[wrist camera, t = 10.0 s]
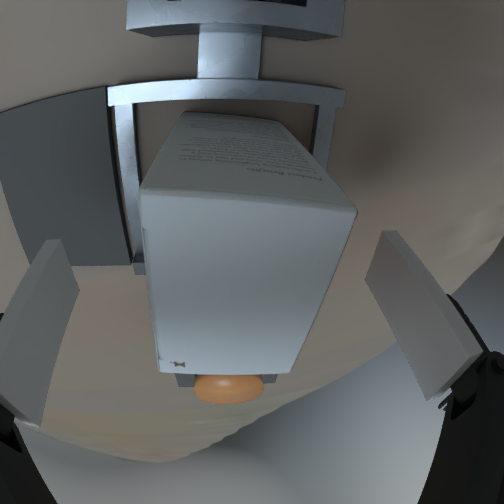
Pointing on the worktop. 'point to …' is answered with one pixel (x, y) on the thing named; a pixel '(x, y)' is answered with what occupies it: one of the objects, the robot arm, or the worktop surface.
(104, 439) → the worktop surface
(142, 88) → the housing
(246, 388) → the plunger
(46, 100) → the mat
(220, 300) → the small box
